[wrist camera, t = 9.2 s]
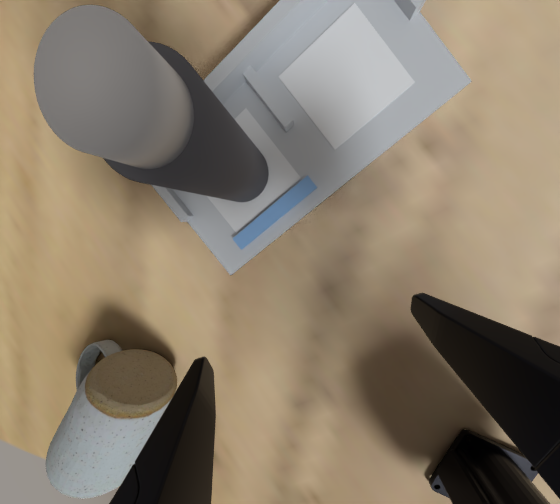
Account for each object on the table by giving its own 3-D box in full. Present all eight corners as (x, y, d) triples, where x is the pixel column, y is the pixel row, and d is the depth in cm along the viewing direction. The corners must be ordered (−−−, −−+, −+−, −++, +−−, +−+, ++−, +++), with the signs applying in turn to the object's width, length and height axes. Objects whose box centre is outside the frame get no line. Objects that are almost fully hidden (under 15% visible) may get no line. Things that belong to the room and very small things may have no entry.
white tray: (364, -51, 16) (374, -99, 14) (467, 85, 17) (494, 61, 14) (147, 168, 20) (125, 161, 18) (232, 274, 21) (222, 281, 18)
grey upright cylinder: (270, 144, 18) (172, -23, 5) (266, 204, 19) (172, 178, 6) (215, 142, 19) (9, -15, 6) (213, 200, 20) (26, 168, 7)
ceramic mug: (196, 368, 23) (138, 440, 15) (166, 429, 24) (99, 524, 16) (107, 315, 23) (8, 359, 16) (82, 378, 25) (-19, 446, 17)
